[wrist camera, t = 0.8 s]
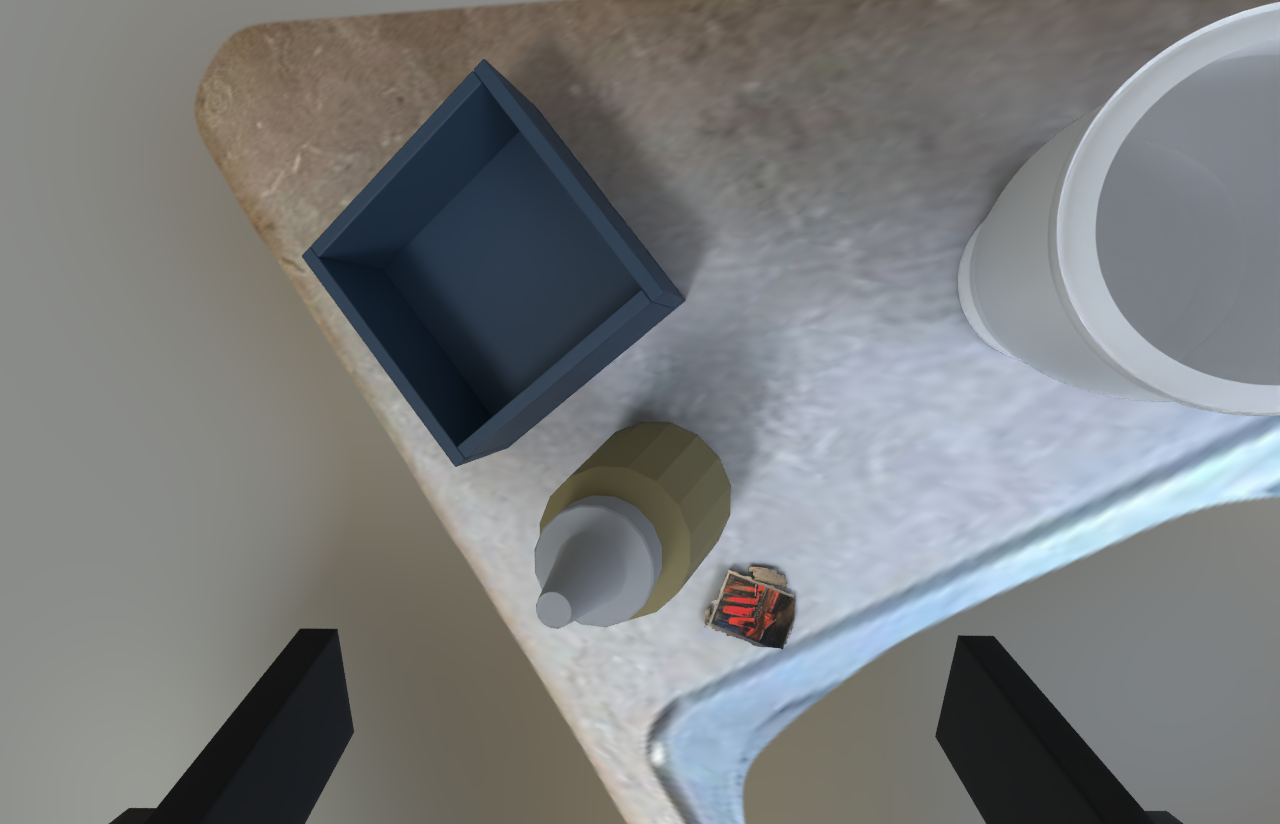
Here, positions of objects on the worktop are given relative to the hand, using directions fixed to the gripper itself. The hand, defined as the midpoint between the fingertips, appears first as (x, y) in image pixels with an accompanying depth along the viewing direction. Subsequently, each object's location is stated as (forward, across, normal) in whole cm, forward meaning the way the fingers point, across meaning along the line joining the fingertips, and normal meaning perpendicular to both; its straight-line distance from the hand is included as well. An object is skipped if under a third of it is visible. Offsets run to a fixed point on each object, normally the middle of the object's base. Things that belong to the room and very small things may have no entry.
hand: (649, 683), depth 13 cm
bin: (+27, -7, +5) cm, 28 cm away
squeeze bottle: (+22, +2, -6) cm, 23 cm away
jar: (+20, +20, +7) cm, 29 cm away
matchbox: (+19, +7, -12) cm, 24 cm away
